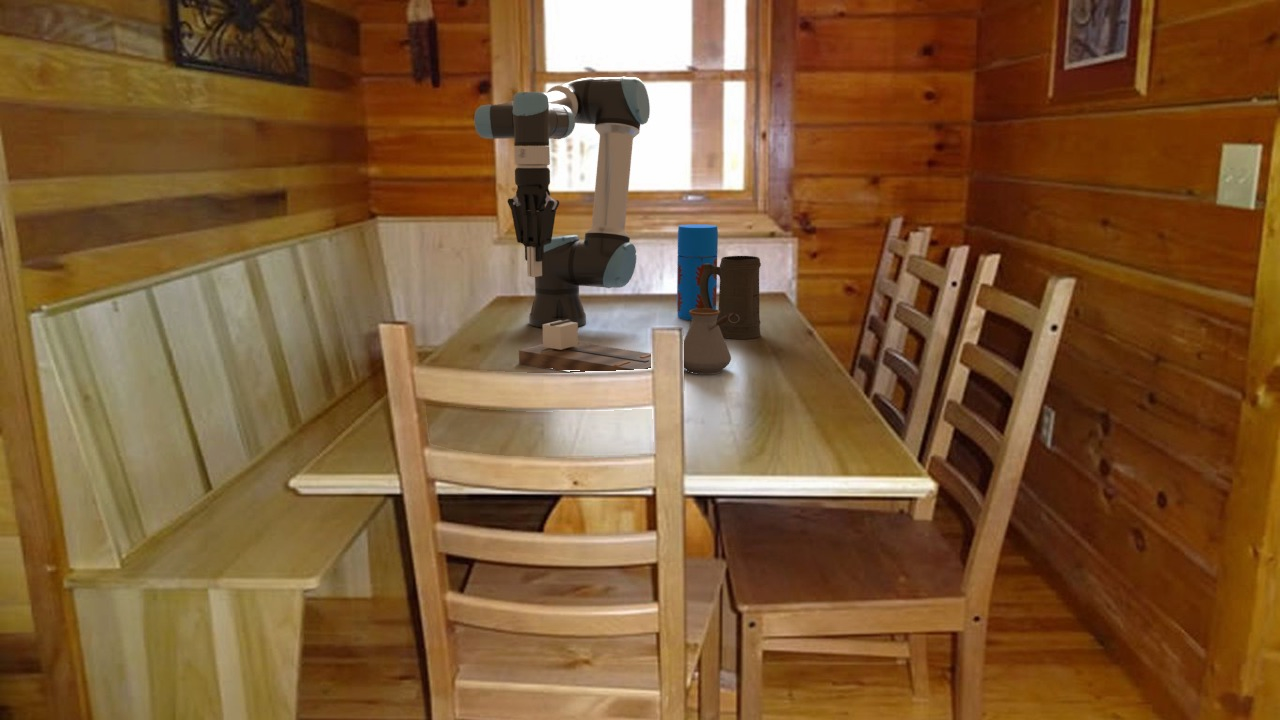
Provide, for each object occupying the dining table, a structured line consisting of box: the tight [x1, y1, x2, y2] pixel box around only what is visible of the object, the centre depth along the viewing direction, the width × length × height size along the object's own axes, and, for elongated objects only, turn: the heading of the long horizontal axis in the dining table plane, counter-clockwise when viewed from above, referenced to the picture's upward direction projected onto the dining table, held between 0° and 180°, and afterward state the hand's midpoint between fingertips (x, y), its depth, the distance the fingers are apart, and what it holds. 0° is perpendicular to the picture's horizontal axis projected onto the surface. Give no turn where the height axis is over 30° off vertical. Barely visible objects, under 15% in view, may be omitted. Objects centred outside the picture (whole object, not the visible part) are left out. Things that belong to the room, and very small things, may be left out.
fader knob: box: [542, 320, 579, 350], centre depth 206 cm, size 5×6×5 cm
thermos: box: [676, 224, 719, 321], centre depth 258 cm, size 11×11×25 cm
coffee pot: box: [683, 308, 739, 376], centre depth 193 cm, size 21×12×15 cm, turn 18°
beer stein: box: [700, 255, 762, 340], centre depth 234 cm, size 15×11×20 cm
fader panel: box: [518, 341, 652, 372], centre depth 201 cm, size 32×14×3 cm, turn 55°
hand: (534, 275), depth 207 cm, fingers closed
